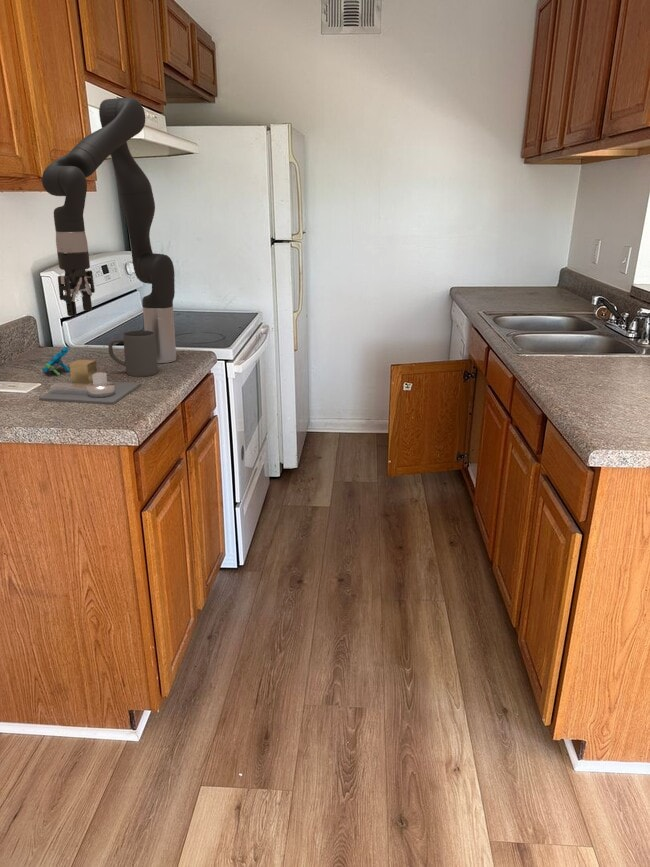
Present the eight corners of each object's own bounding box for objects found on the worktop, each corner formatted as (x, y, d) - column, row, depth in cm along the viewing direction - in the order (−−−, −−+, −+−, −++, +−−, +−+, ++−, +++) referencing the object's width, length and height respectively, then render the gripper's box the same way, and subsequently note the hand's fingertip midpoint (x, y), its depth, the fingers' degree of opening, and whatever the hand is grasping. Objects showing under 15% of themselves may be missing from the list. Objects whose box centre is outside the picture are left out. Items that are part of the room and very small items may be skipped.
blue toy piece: (53, 361, 196) (70, 340, 192) (68, 374, 197) (86, 354, 193) (33, 375, 186) (51, 353, 182) (50, 389, 188) (68, 368, 184)
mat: (73, 381, 181) (73, 379, 181) (141, 385, 179) (141, 383, 179) (39, 400, 164) (38, 397, 164) (113, 404, 162) (113, 402, 162)
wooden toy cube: (80, 380, 180) (78, 359, 178) (97, 381, 180) (95, 360, 178) (72, 385, 175) (69, 363, 173) (89, 386, 175) (87, 364, 173)
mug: (159, 369, 196) (156, 330, 192) (156, 376, 188) (153, 336, 183) (113, 369, 194) (109, 330, 190) (108, 377, 186) (104, 336, 182)
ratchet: (61, 387, 173) (58, 368, 171) (119, 391, 171) (117, 371, 169) (47, 395, 166) (44, 374, 164) (108, 398, 164) (106, 378, 163)
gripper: (72, 247, 171) (79, 308, 177) (44, 251, 158) (52, 317, 164) (99, 248, 171) (105, 309, 176) (72, 252, 157) (80, 318, 163)
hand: (80, 313), depth 170 cm, fingers open, 8 cm apart
